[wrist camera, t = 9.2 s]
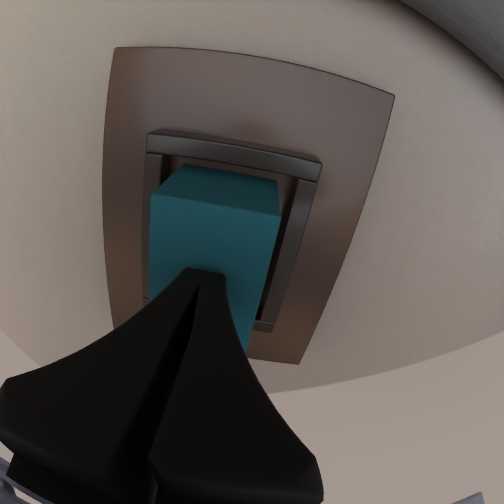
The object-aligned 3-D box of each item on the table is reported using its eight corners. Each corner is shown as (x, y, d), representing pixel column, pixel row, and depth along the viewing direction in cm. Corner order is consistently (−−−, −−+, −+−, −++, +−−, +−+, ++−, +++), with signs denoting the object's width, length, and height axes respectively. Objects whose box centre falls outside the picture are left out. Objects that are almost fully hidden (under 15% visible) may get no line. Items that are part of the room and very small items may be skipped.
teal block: (250, 293, 15) (246, 353, 12) (173, 279, 15) (150, 333, 12) (277, 179, 12) (282, 217, 9) (183, 163, 12) (150, 193, 9)
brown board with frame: (297, 353, 19) (300, 380, 17) (118, 319, 18) (106, 342, 16) (387, 94, 11) (408, 96, 9) (123, 49, 10) (100, 44, 8)
